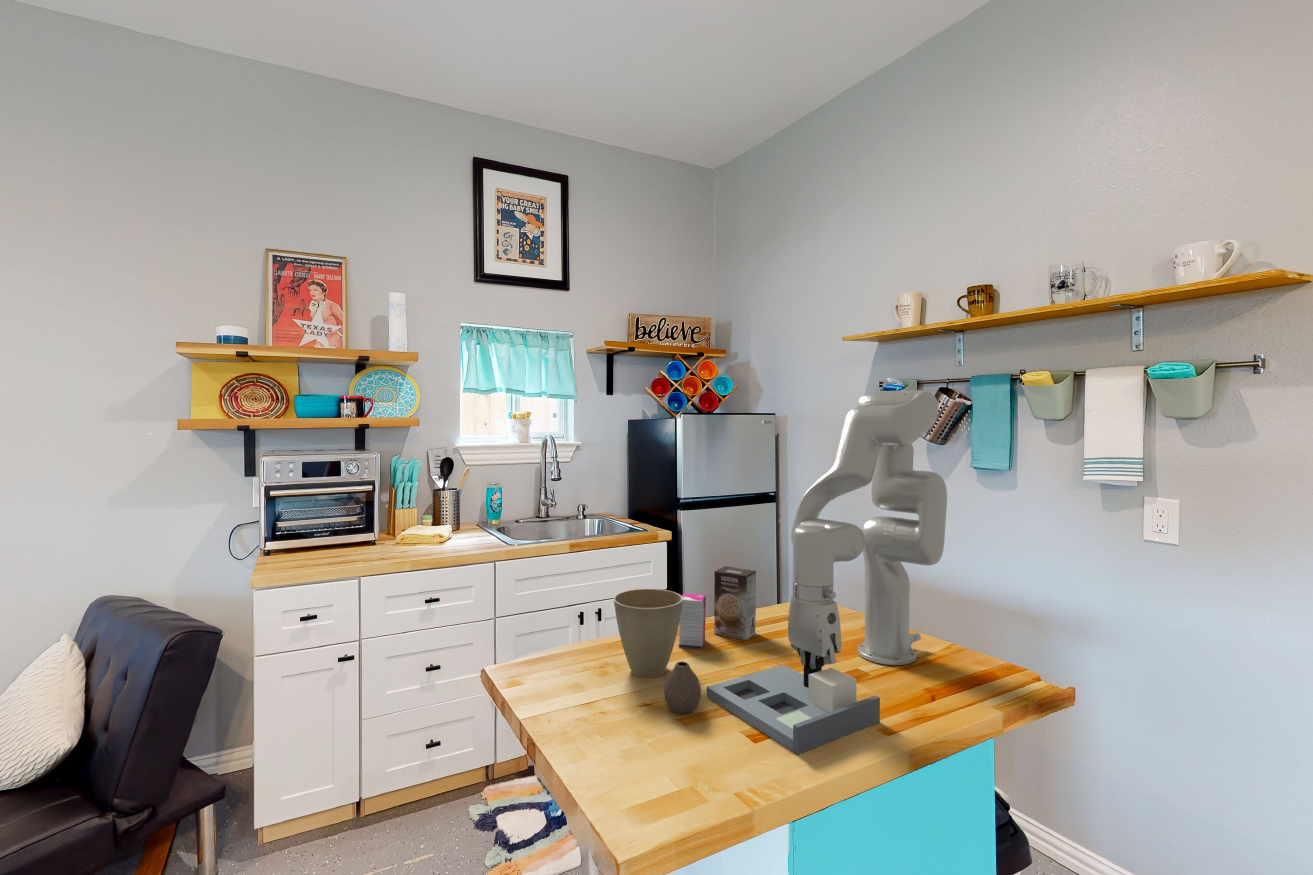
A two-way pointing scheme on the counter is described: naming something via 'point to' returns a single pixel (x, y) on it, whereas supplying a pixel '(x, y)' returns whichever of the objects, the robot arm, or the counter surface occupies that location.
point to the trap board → (790, 709)
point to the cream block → (832, 689)
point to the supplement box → (692, 621)
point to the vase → (682, 689)
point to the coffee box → (735, 602)
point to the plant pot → (648, 628)
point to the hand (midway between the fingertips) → (812, 685)
